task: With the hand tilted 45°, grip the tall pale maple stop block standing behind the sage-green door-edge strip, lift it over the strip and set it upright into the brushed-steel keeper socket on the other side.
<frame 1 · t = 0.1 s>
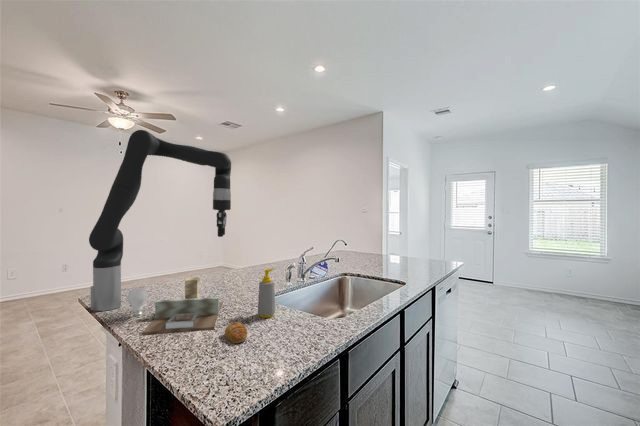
hand: (221, 235, 127), 29 cm above the worktop, tool pointing down, fingers open, 8 cm apart
stop block: (192, 308, 115), point 1 cm above the worktop, touching door mockup
light bulb: (137, 317, 109), on the worktop
keeper socket: (182, 326, 100), resting on door mockup
soap bottle: (266, 315, 111), on the worktop
pastry: (237, 338, 93), on the worktop
door mockup: (188, 317, 108), on the worktop
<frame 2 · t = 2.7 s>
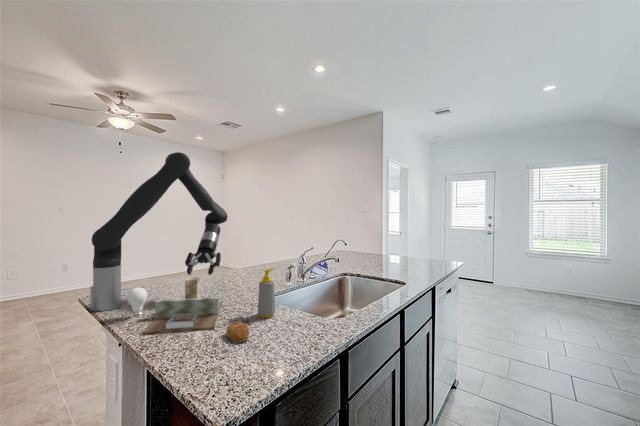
hand: (199, 273, 122), 13 cm above the worktop, tool tilted 45°, fingers open, 8 cm apart
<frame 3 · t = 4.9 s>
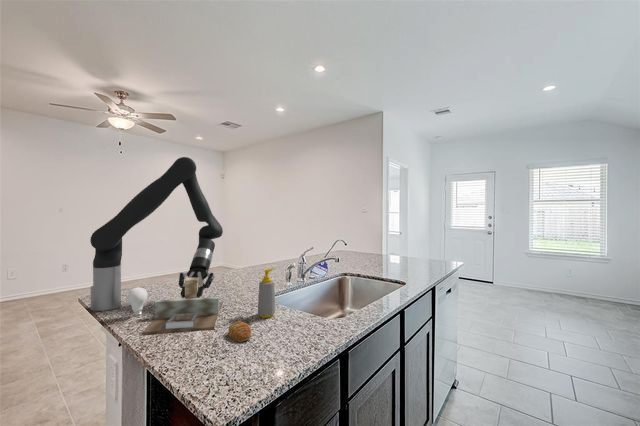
hand: (190, 296, 113), 6 cm above the worktop, tool tilted 45°, fingers closed on stop block, 5 cm apart
stop block: (192, 308, 115), point 1 cm above the worktop, touching door mockup, gripper
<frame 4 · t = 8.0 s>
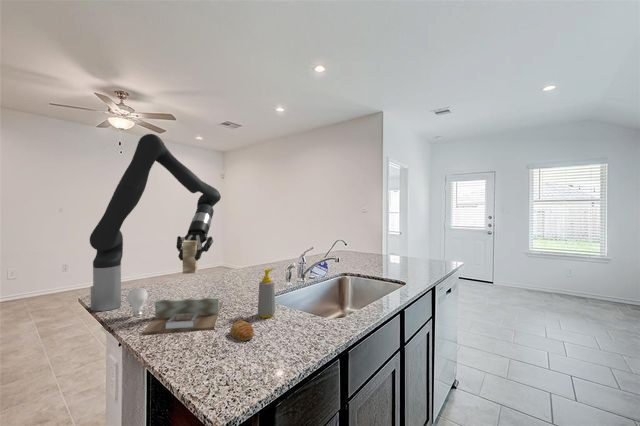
hand: (188, 259, 109), 22 cm above the worktop, tool tilted 45°, fingers closed on stop block, 5 cm apart
stop block: (190, 272, 111), point 17 cm above the worktop, touching gripper
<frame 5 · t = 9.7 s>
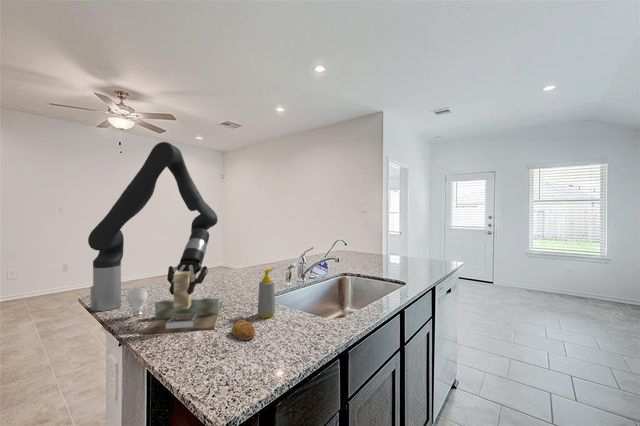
hand: (180, 293, 98), 12 cm above the worktop, tool tilted 45°, fingers closed on stop block, 5 cm apart
stop block: (182, 307, 100), point 7 cm above the worktop, touching gripper
when the fingers open (8 cm above the worktop, at t = 11.1 s): stop block drops 1 cm, resting on door mockup.
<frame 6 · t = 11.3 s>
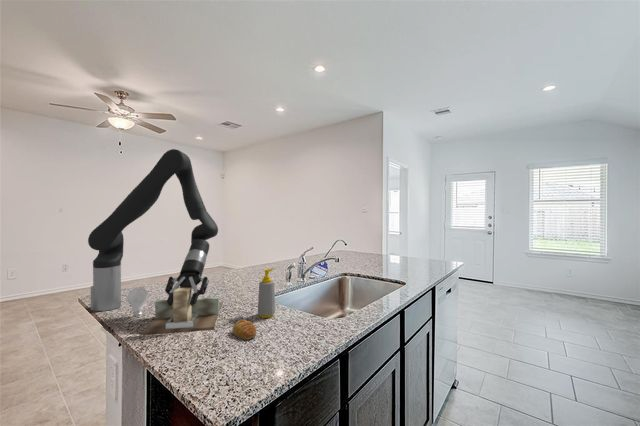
hand: (180, 304, 99), 8 cm above the worktop, tool tilted 45°, fingers open, 7 cm apart
stop block: (182, 323, 100), point 1 cm above the worktop, touching door mockup
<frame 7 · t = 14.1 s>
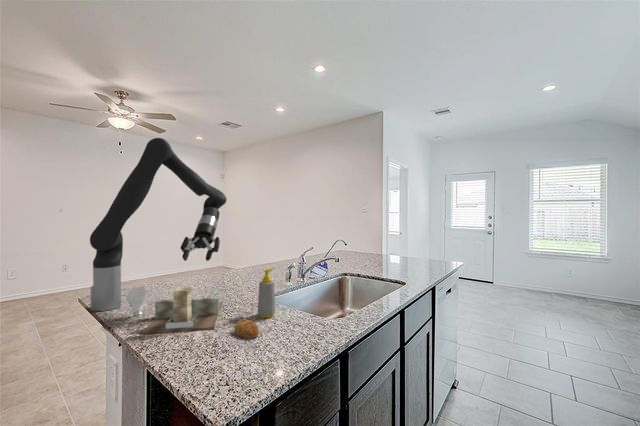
hand: (195, 259, 111), 21 cm above the worktop, tool tilted 45°, fingers open, 8 cm apart
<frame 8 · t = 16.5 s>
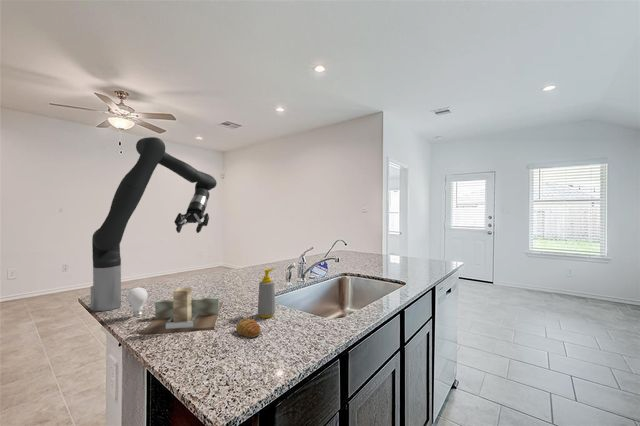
hand: (187, 231, 129), 31 cm above the worktop, tool tilted 45°, fingers open, 8 cm apart
at the end: stop block 0.1 cm off-centre on the keeper socket, point 1.0 cm above the keeper socket's base; stop block tilted 0°; the gripper is holding nothing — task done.
